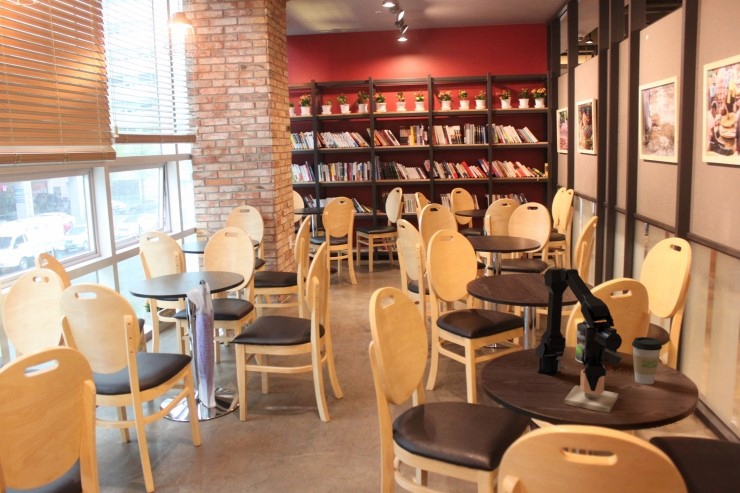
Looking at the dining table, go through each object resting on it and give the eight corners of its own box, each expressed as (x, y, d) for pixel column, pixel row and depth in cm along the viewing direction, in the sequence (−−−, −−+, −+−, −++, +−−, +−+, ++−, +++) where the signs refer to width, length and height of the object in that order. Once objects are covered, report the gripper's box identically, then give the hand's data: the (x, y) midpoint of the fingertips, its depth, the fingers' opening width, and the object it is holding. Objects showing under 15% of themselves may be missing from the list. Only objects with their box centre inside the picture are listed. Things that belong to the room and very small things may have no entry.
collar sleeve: (581, 393, 209) (581, 375, 208) (579, 384, 216) (580, 367, 215) (604, 395, 207) (605, 377, 206) (602, 386, 214) (603, 369, 213)
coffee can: (582, 365, 244) (584, 330, 242) (571, 356, 254) (572, 322, 252) (608, 364, 245) (610, 328, 243) (595, 355, 256) (597, 321, 253)
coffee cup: (657, 388, 222) (660, 346, 219) (627, 383, 227) (629, 342, 224) (661, 379, 230) (664, 339, 227) (632, 374, 235) (634, 334, 233)
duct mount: (564, 403, 210) (565, 384, 209) (575, 389, 222) (576, 371, 221) (608, 412, 203) (609, 393, 202) (618, 397, 214) (619, 379, 213)
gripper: (624, 352, 198) (621, 400, 201) (617, 334, 216) (614, 378, 218) (586, 349, 201) (584, 396, 203) (582, 332, 218) (580, 375, 221)
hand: (592, 386), depth 211 cm, fingers closed on collar sleeve, 7 cm apart
